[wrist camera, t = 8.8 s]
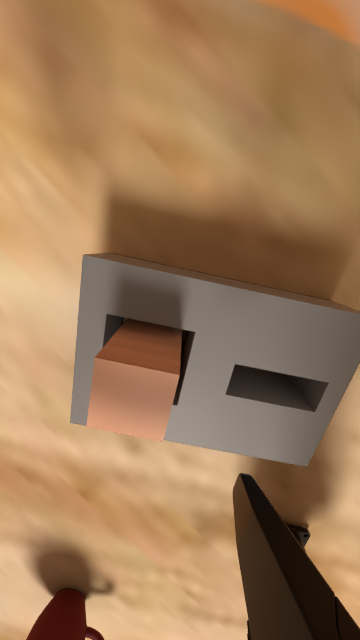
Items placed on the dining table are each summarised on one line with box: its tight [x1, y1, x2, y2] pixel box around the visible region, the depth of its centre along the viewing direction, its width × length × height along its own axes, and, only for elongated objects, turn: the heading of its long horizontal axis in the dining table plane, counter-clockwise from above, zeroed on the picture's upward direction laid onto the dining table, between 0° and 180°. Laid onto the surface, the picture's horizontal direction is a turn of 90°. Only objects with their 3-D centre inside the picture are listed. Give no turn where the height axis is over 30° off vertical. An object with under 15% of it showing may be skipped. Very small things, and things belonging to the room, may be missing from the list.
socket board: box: [70, 253, 360, 467], centre depth 17 cm, size 12×18×5 cm, turn 78°
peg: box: [86, 318, 182, 441], centre depth 15 cm, size 4×4×9 cm
